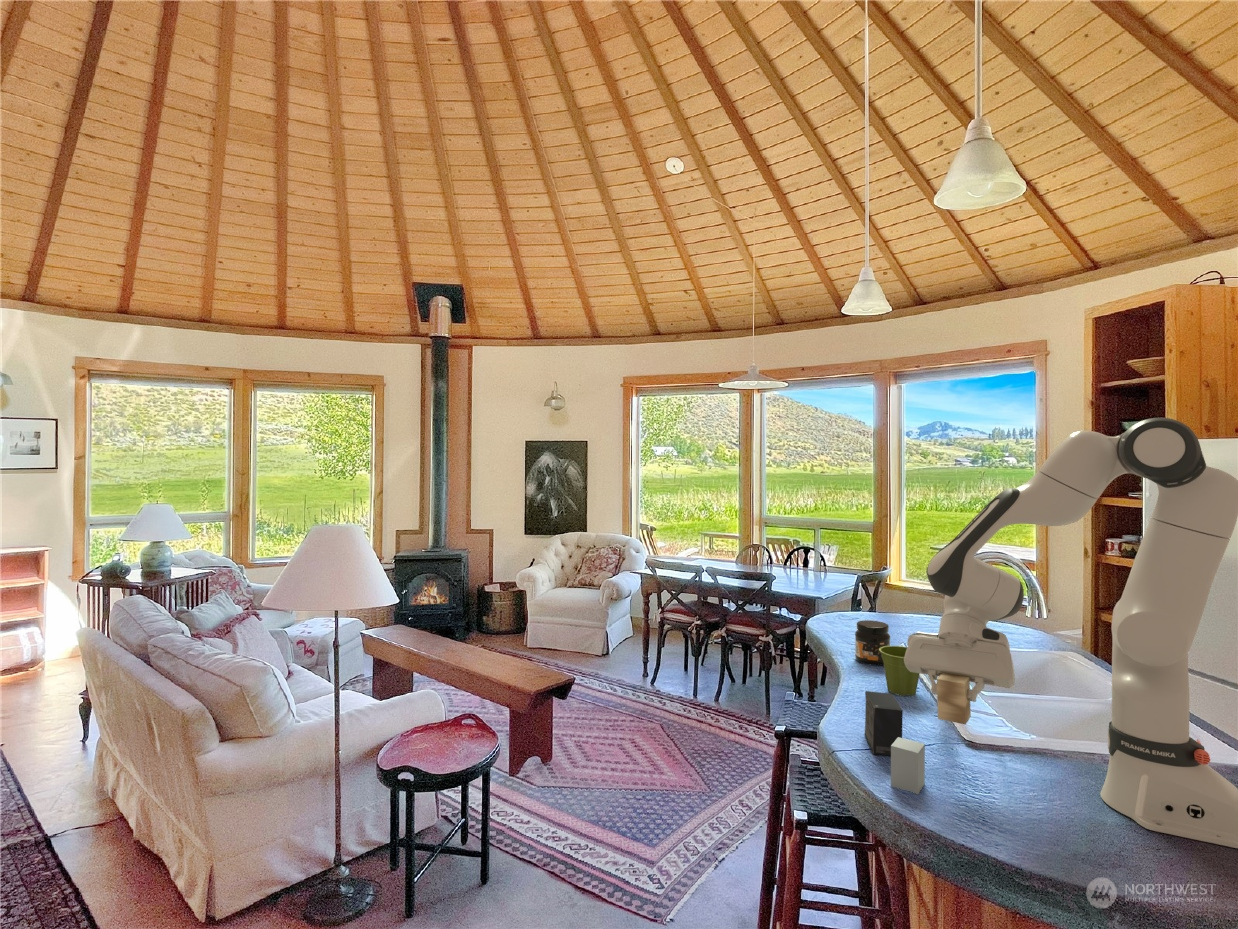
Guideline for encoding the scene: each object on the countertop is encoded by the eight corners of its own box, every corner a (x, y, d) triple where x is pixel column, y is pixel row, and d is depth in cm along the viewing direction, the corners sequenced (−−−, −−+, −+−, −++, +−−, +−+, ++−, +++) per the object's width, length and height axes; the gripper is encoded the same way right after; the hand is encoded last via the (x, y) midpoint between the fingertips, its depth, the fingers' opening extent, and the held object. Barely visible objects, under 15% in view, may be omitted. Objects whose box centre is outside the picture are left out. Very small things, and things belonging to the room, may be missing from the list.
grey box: (924, 784, 126) (924, 744, 126) (918, 794, 122) (918, 753, 122) (898, 776, 129) (898, 737, 129) (890, 786, 125) (890, 745, 125)
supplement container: (848, 660, 204) (848, 623, 204) (864, 654, 211) (864, 618, 211) (880, 668, 196) (881, 630, 196) (896, 661, 203) (896, 624, 203)
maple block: (970, 716, 129) (969, 677, 129) (965, 724, 125) (964, 683, 125) (943, 711, 132) (942, 672, 132) (937, 718, 128) (936, 679, 128)
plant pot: (928, 702, 169) (928, 660, 169) (880, 697, 173) (880, 655, 173) (922, 687, 180) (922, 647, 180) (877, 682, 184) (877, 643, 184)
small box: (904, 758, 137) (904, 709, 137) (872, 755, 138) (872, 707, 138) (893, 737, 147) (893, 692, 147) (863, 735, 149) (863, 690, 149)
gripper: (906, 622, 140) (895, 679, 133) (1014, 636, 128) (1009, 699, 120) (912, 638, 144) (901, 694, 136) (1018, 653, 131) (1013, 715, 123)
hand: (953, 696), depth 128 cm, fingers closed on maple block, 5 cm apart
